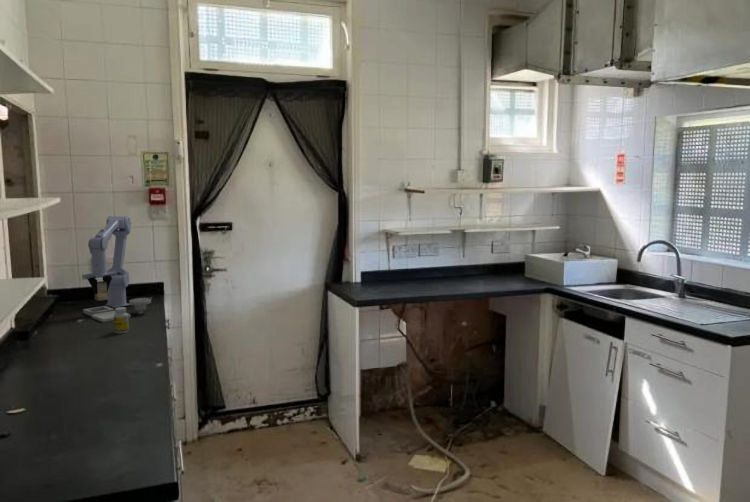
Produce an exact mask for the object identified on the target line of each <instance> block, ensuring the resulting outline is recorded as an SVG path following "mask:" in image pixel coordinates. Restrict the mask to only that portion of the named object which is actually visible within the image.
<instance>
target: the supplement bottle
mask: <svg viewBox="0 0 750 502" xmlns="http://www.w3.org/2000/svg"><path fill="white" fill-rule="evenodd" d="M114 311H115V312H116V314H114V321H113V326H114V327H113V328H114V333H115V334H126V333H128V332H129V331H130V326H129V325H130V323H129V322H130V321H129V318H128V314H129V313H127V307H125V306H121V307H115V308H114Z"/></svg>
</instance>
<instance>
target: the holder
mask: <svg viewBox="0 0 750 502" xmlns="http://www.w3.org/2000/svg"><path fill="white" fill-rule="evenodd" d="M111 311H115V308H113V307H110V306H108V305H102V306H96V307H90V308H83V309H82V312H83V313H82V314H84V315H87V316H90V317H91V318H92V315H93V314H99V313H105V312H111Z"/></svg>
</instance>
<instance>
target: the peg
mask: <svg viewBox="0 0 750 502" xmlns="http://www.w3.org/2000/svg"><path fill="white" fill-rule="evenodd" d="M94 300H96V301H98V302H99V301H106V300H107V283H106V282H104V281H103V280H102V281H97V294H94Z"/></svg>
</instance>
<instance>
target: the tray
mask: <svg viewBox="0 0 750 502" xmlns="http://www.w3.org/2000/svg"><path fill="white" fill-rule="evenodd" d="M114 314H116V312H115V310H114V311H111V312H105V313H99V314H93V315H92V317H91V319H94V320H96V321H98V322H101V323H103V324H104V323H109V322H114ZM130 318H131V314H130V313H128V319H130Z"/></svg>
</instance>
